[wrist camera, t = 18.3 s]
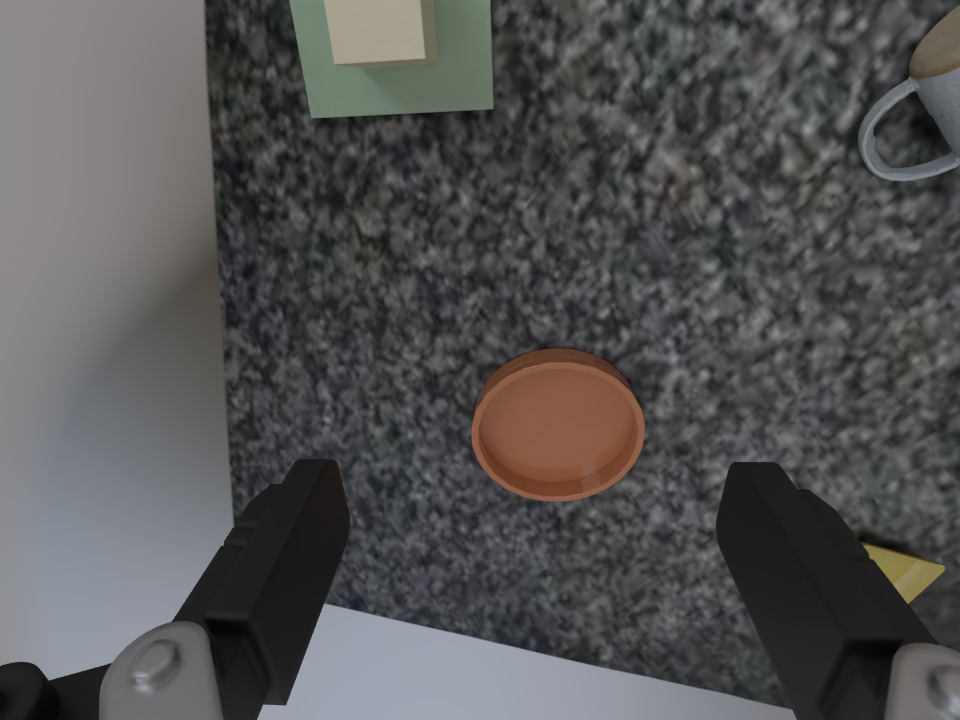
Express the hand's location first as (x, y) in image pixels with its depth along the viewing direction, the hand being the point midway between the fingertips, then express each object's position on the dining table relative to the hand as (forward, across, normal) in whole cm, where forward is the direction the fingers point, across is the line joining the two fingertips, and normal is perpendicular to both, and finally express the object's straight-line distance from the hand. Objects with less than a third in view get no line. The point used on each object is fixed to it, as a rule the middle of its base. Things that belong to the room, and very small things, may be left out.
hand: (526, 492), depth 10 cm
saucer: (+28, -34, +36) cm, 57 cm away
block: (+28, +7, -12) cm, 31 cm away
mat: (+28, +8, -12) cm, 31 cm away
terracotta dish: (+28, -3, +18) cm, 34 cm away
